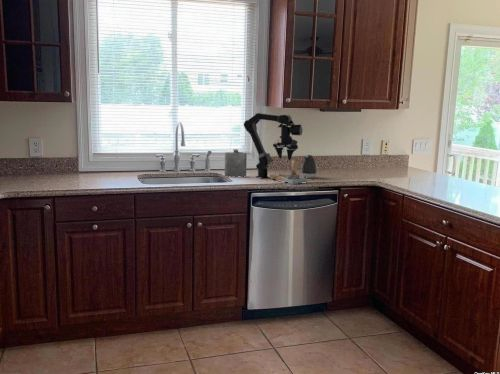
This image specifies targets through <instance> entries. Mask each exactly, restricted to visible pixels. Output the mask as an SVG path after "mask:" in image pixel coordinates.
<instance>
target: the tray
mask: <svg viewBox="0 0 500 374" xmlns="http://www.w3.org/2000/svg"><path fill="white" fill-rule="evenodd" d="M281 181H285V182H289V183H291V184H290V185H299V184H298V183H302V182H306V183H307V178H304V177H299V179H298V180H291V179H288V177H284V178H281ZM281 181H280V182H281ZM302 184H303V183H302Z"/></svg>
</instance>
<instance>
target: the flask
mask: <svg viewBox="0 0 500 374" xmlns="http://www.w3.org/2000/svg"><path fill="white" fill-rule="evenodd" d="M225 176H246V177H247V152H243V151H239V149H236V148H235V149H233V151H231V152H230V151H229V152H228V151H227V152H226V151H225V152H224V177H225Z"/></svg>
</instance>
